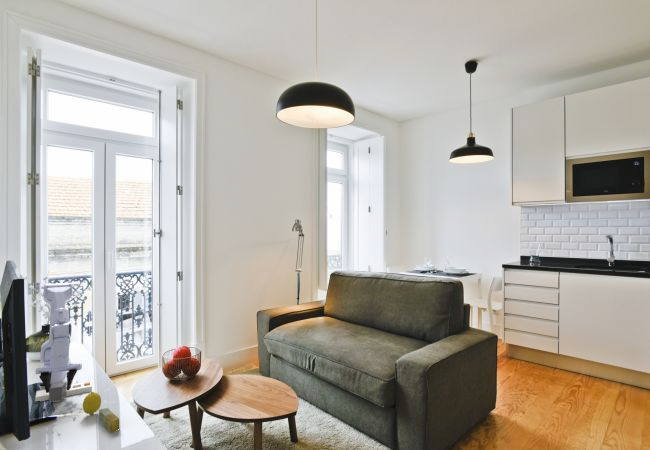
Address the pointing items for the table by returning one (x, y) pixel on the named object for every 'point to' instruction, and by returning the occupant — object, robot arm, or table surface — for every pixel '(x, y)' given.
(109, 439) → the table surface
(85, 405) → the lemon
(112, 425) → the medication box
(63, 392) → the block
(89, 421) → the table surface
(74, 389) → the power strip
